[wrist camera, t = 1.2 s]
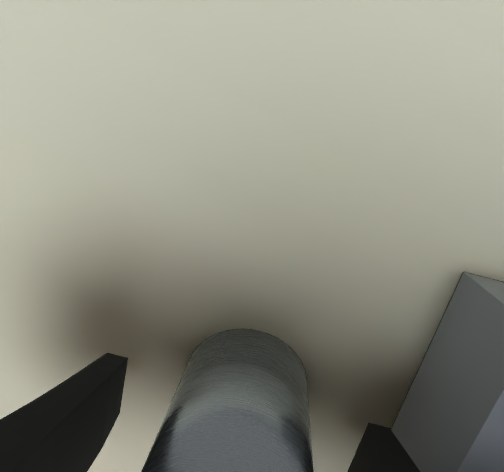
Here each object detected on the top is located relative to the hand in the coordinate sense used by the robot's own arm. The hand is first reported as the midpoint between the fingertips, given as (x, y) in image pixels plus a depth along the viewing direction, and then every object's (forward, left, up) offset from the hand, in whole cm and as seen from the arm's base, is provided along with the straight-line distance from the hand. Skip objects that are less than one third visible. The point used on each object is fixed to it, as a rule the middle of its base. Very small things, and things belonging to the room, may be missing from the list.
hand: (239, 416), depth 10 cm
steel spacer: (0, 0, -2) cm, 2 cm away
